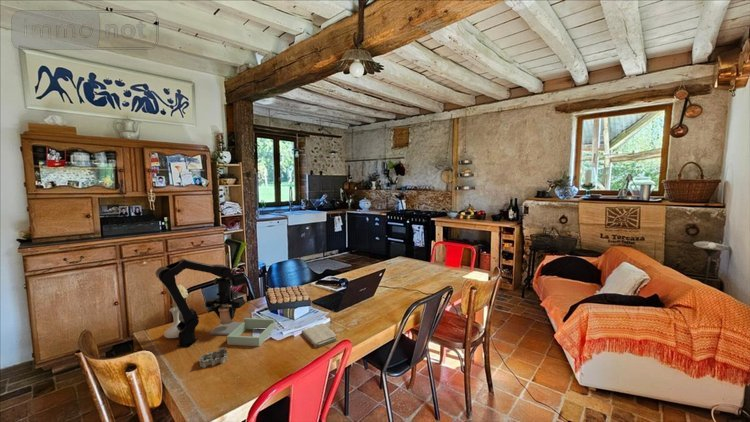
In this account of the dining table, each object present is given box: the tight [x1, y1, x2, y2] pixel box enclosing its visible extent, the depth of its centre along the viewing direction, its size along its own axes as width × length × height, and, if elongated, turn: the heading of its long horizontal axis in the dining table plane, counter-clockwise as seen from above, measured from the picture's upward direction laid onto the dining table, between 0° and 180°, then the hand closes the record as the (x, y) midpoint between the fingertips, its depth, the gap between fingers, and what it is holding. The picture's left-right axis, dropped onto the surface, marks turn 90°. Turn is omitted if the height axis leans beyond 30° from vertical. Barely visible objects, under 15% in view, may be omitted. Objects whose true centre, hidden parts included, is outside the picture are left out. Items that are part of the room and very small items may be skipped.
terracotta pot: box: [218, 305, 234, 325], centre depth 162 cm, size 7×7×8 cm
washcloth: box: [301, 323, 338, 349], centre depth 153 cm, size 12×18×3 cm, turn 36°
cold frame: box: [226, 317, 276, 347], centre depth 155 cm, size 16×16×6 cm
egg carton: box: [198, 346, 229, 369], centre depth 135 cm, size 11×8×4 cm
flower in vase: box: [163, 284, 189, 339], centre depth 158 cm, size 13×11×25 cm
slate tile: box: [209, 321, 244, 336], centre depth 163 cm, size 12×12×1 cm
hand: (226, 318), depth 163 cm, fingers closed on terracotta pot, 6 cm apart
